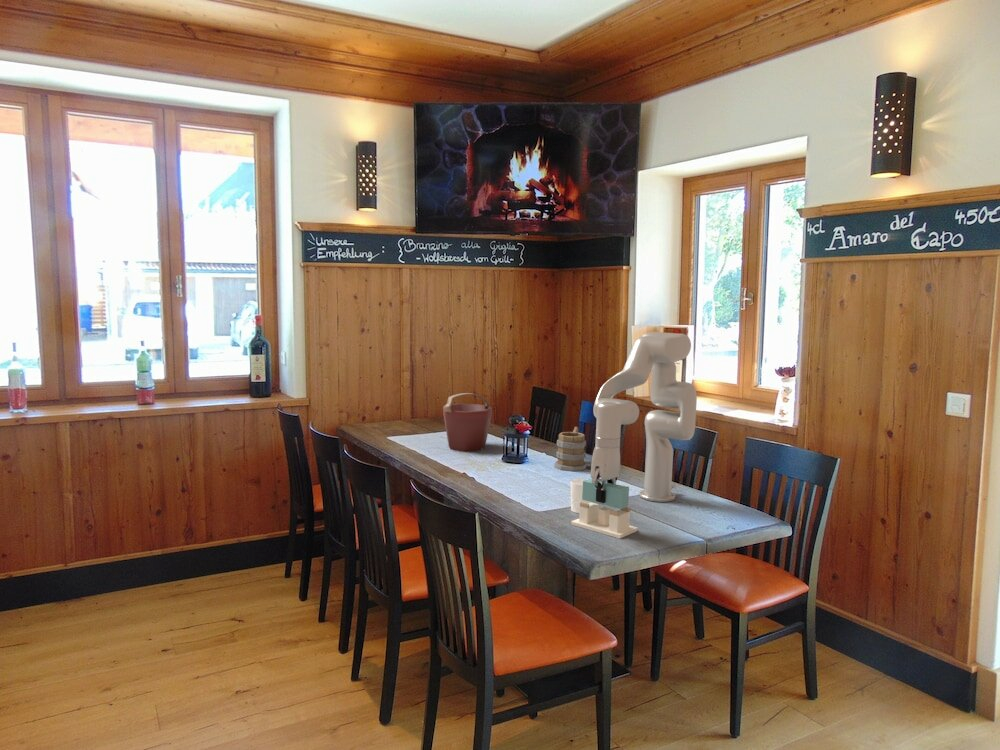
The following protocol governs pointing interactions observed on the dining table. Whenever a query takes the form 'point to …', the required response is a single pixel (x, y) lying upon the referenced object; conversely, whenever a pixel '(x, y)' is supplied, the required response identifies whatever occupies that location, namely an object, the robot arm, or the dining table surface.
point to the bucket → (467, 424)
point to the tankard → (571, 451)
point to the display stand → (604, 520)
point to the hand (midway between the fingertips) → (604, 499)
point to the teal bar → (607, 494)
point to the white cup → (577, 494)
